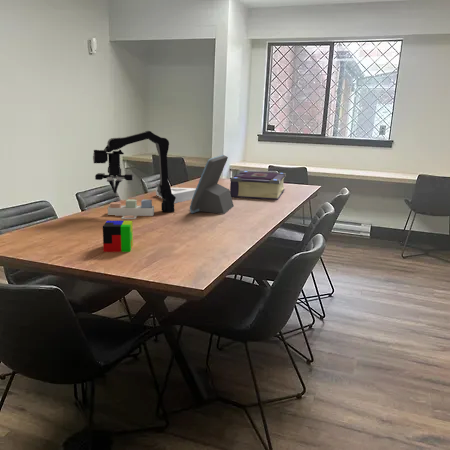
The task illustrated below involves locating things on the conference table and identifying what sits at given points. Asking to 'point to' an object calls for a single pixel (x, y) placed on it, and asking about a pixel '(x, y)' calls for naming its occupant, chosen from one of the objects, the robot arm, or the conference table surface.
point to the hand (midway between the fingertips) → (115, 193)
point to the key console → (131, 211)
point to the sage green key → (131, 203)
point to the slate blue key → (146, 204)
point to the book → (257, 185)
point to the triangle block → (181, 194)
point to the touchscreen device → (212, 189)
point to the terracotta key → (115, 205)
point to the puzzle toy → (117, 236)
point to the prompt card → (129, 217)
